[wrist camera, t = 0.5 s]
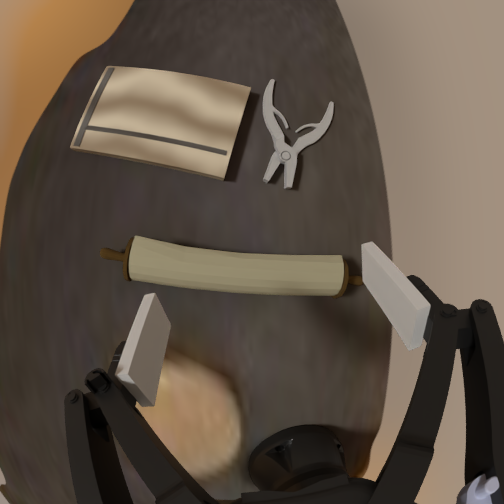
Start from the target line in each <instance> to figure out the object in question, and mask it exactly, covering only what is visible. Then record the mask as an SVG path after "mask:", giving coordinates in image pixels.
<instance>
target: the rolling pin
mask: <svg viewBox="0 0 504 504" xmlns="http://www.w3.org/2000/svg"><path fill="white" fill-rule="evenodd" d="M100 255H101V257H102V258H104V259H108V260H117V261H122V262H123V274H124V279H125V280H127V281H131V280H136V281H142V282H149V283H155V284H162V285H169V286H176V287H183V288H192V289H202V290H212V291H223V292H233V293H249V294H269V295H298V296H331V297H332V298H335V299H337V298H339V297H341V296H342V295H343V293H344V292H345V290H346V287H347V283H348V284H352V285H356V286H360V285H363V283H364V282H363V277H361V276H351V275H349V272H348V265H347V263H346V260H344V259H342V256H341V255H275V254H249V253H235V252H227V251H218V250H210V249H201V248H193V247H185V246H181V245H176V244H171V243H167V242H162V241H158V240H153V239H149V238H144V237H140V236H135V237H132V238H131V239H130V240H129V242H128V244H127V246H126V250H125V253H121V252H118V251H115V250H112V249H109V248H102V249H101V251H100Z"/></svg>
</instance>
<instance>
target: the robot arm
mask: <svg viewBox="0 0 504 504" xmlns="http://www.w3.org/2000/svg"><path fill="white" fill-rule="evenodd" d="M361 245H362V277H363V282H364V284H365V285H366V287H367V288H368V290H369V291H370V292H371V294H372V295H373V297H374V298H375V300H376V301H377V303H378V304H379V306H380V307H381V309H382V310H383V311H384V313H385V314H386V316H387V318H388V319H389V321H390V322H391V324H392V325H393V327H394V328H395V330H396V331H397V333H398V334H399V336H400V338H401V339H402V341H403V342H404V344H405V346H406V347H407V349H408V350H409V351H410V350H413V349H415V348H418V347H420V346H421V345H422V341H423V338H424V339H425V341H426V342H427V345H426V349H425V352H424V356H423V361H422V365H421V369H420V372H419V376H418V379H417V382H416V386H415V389H414V392H413V395H412V398H411V401H410V404H409V407H408V410H407V413H406V415H405V418H404V421H403V423H402V426H401V429H400V431H399V434H398V436H397V438H396V441H395V443H394V445H393V448H392V450H391V452H390V455H389V457H388V459H387V461H386V463H385V465H384V466H383V468H382V470H381V472H380V474H379V476H378V478H377V480H376V482H374V481H372V480H368V479H364V478H350V476H349V475H348V473H347V472H346V465H345V458H344V451H343V447H342V444H341V442H340V441H339V440H338V438H337V437H336V435H335V434H334V433H333V432H332V431H330V430H329V429H327V428H324V427H321V426H314V425H304V426H297V427H292V428H289V429H285V430H283V431H280V432H278V433H276V434H274V435H272V436H270V437H268V438H267V439H265V440H264V441H263V442H262V443H260V444H259V445H258V446H257V447H256V448H255V450H254V451H253V453H252V454H251V456H250V459H249V464H248V467H249V472H250V476H251V479H252V481H253V483H254V484H255V485H256V486H257V487H258V489H259V490H260V491H258V492H249V493H241V497H242V498H239V499H236V500H215V499H214V498H212V497H211V496H210V495H209V494H208V493H207V492H206V491H205V490H204V489H203V488H202V487H201V486H200V485H199V484H198V483H197V482H196V481H195V480H194V479H193V478H192V477H191V475H190V474H189V473H188V472H187V471H186V470H185V469H184V468H183V467H182V465H181V464H180V463H179V462H178V461H177V460H176V458H175V457H174V456H173V455H172V454H171V453H170V451H169V450H168V449H167V448H166V446H165V445H164V444H163V443H162V441H161V440H160V439H159V438H158V436H157V435H156V434H155V432H154V431H153V430H152V428H151V427H150V426H149V424H148V423H147V421H146V420H145V419H144V417H143V416H142V414H141V413H140V412H139V410H138V409H137V408H136V407H135V405H136V401H137V402H138V403H139V404H140V405H141V406H142V407H146V406H154V405H155V400H156V395H157V389H158V384H159V379H160V374H161V369H162V364H163V360H164V355H165V350H166V346H167V341H168V337H169V332H170V328H171V324H170V322H169V320H168V318H167V316H166V314H165V312H164V310H163V308H162V306H161V304H160V302H159V300H158V298H157V296H156V294H155V293H152V294H147V295H144V298H143V300H142V303H141V305H140V308H139V310H138V313H137V315H136V318H135V320H134V323H133V325H132V328H131V331H130V333H129V336H128V339H127V341H123V342H121V343H120V345H119V346H118V347H117V349H116V351H115V354H114V357H113V359H112V362H111V365H110V368H109V370H108V373H107V374H106V372H105V371H104V370H103V369H100V368H98V369H94V370H92V371H91V372H90V373H88V375H87V376H86V378H85V385H86V386H87V387H88V388H89V390H90V391H91V392H89V393H86V394H83V393H82V392H81V391H80V390H78V389H75V390H72V391H70V392H69V393H68V394H67V395H66V397H65V401H64V405H65V424H66V436H67V446H68V454H69V462H70V468H71V474H72V480H73V485H74V490H75V495H76V499H77V503H78V504H133V501H132V498H131V496H130V493H129V490H128V487H127V484H126V481H125V478H124V475H123V472H122V469H121V465H120V462H119V458H118V455H117V451H116V447H115V444H114V440H113V435H112V431H113V433H114V435H115V437H116V438H117V440H118V442H119V444H120V445H121V447H122V449H123V450H124V452H125V454H126V455H127V457H128V458H129V460H130V462H131V463H132V465H133V466H134V468H135V469H136V471H137V472H138V474H139V475H140V477H141V478H142V480H143V481H144V482H145V484H146V485H147V487H148V488H149V489H150V491H151V492H152V493H153V495H154V496H155V498H156V501H155V503H156V504H417V503H415V502H414V500H415V498H416V496H417V494H418V492H419V490H420V487H421V485H422V483H423V480H424V478H425V476H426V473H427V471H428V468H429V465H430V462H431V460H432V457H433V453H434V448H433V447H434V443H435V440H436V436H437V433H438V430H439V427H440V423H441V419H442V416H443V412H444V408H445V404H446V400H447V396H448V391H449V386H450V381H451V376H452V370H453V364H454V358H455V351H456V349H460V354H461V361H462V370H463V377H464V388H465V406H466V453H465V486H464V487H463V488H462V489H461V491H460V492H459V494H458V496H457V503H456V504H504V342H503V338H502V335H501V332H500V328H499V325H498V322H497V319H496V316H495V313H494V310H493V307H492V306H491V304H490V303H489V302H488V301H485V300H482V299H481V300H480V299H478V300H475V301H473V302H472V304H471V307H470V308H469V309H461V310H458V309H457V308H456V307H455V306H453V305H450V304H443V302H442V301H441V300H440V299H439V298H438V297H437V296H436V295H435V294H434V293H433V291H432V290H431V289H429V287H428V286H427V285H426V284H425V283H424V282H423V281H422V280H421V279H420V278H418V277H416V276H414V275H410V276H407V277H406V276H405V275H404V274H403V273H402V272H401V271H400V270H399V269H398V268H397V267H396V266H395V264H394V263H393V262H392V261H391V260H390V259H389V258H388V257H387V256H386V255H385V254H384V253H383V252H382V251H381V250H380V249H379V248H378V247H377V246H376V245H375V244H374V243H373V242H369V243H365V244H361ZM111 429H112V431H111Z"/></svg>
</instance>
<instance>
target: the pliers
mask: <svg viewBox="0 0 504 504" xmlns="http://www.w3.org/2000/svg"><path fill="white" fill-rule="evenodd" d="M274 81H275V80H273V79H271V80H270V82H269V84H268V86H267V88H266V90H265V93H264V97H263V116H264V120H265V123H266V126H267V128H268V130H269V131H270V133H271V135H272V138H273V141H274V148H275V150H276V151H275V152H274V154H273V155H272V157H271V159H270V162H269V165H268V167H267V170H266V173H265V176H264V178H263V181H264V182H266V183H267V182H268V181H269V180H270V178H271V177H272V175H273V174H274V172H275V170H276V169H277V167H278V166H279V164H280V163H281V164H284V189H290V188H292V184H293V179H294V174H295V170H296V165H297V155H298V153H299V152H300V151H301V150H302V149H303V148H305V147H306V146H308V145H311V144H313V143H314V142H316V141H317V140H318V139H319V138H320V137H321V136H322V135H323V134H324V133H325V131H326V130H327V128H328V126H329V125H330V122H331V119H332V116H333V109H334V103H333V102H330V103H329V106H328V109H327V111H326V113H325V115H324V117H323V119H322V120H321V122H320V123H318V124H307V125H304V126H302V127H300V128H299V129H297V130H296V131H295V132H296V133H297V132H298V131H300V130H302V129H304V128H307V127H313V128H315V129H314V130H313V131H312V132H310V133H308V134H306V135H304V136H302V137H300V138H298V140H297V141H296V143H295V144H294V146H293V148H292V147H290V146H289V145H287V144H286V143H285V142H284V135H283V132H282V130H281V129H280V127H279V125H278V123H277V121H276V119H275V117H274V113H275V114H277V115H278V116H279V117H280V118H281V119H282V121H283V123H284V125H285V127H286V129H288V125H287V122H286V120H285V118H284V116H283V115H282V114H281V113H280V112H279V111H278V110H276V109H275V108H274V107H273V105H272V93H273V86H274Z"/></svg>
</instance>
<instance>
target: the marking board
mask: <svg viewBox="0 0 504 504" xmlns="http://www.w3.org/2000/svg"><path fill="white" fill-rule="evenodd" d="M250 90H251V88H250V87H246V86H243V85H238V84H234V83H230V82H226V81H221V80H216V79H211V78H206V77H201V76H195V75H190V74H184V73H177V72H170V71H162V70H154V69H144V68H132V67H117V66H107V67H106V69H105V71H104V72H103V74H102V76H101V78H100V80H99V82H98V84H97V86H96V88H95V90H94V92H93V94H92V96H91V98H90V100H89V102H88V104H87V107H86V109H85V111H84V113H83V116H82V118H81V120H80V123H79V125H78V128H77V130H76V133H75V135H74V138H73V140H72V143H71V146H70V148H71V149H73V150H74V151H78V152H85V153H91V154H97V155H103V156H109V157H115V158H120V159H126V160H131V161H136V162H141V163H146V164H151V165H156V166H161V167H166V168H170V169H175V170H179V171H184V172H188V173H193V174H197V175H201V176H205V177H210V178H214V179H218V180H222V181H224V178H225V174H226V170H227V167H228V163H229V160H230V156H231V153H232V149H233V146H234V142H235V139H236V135H237V132H238V129H239V125H240V122H241V119H242V115H243V112H244V109H245V106H246V103H247V99H248V96H249V93H250Z"/></svg>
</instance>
